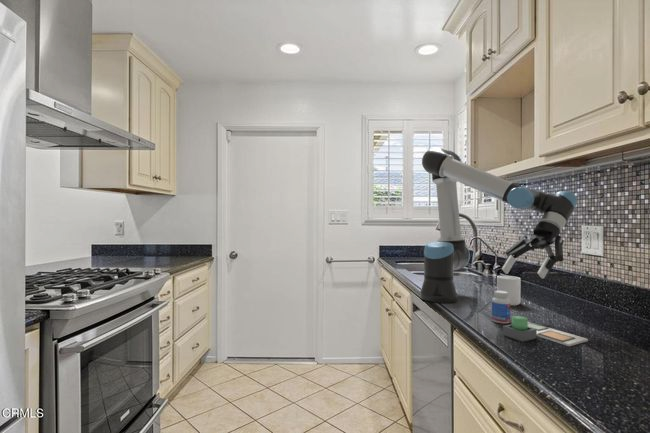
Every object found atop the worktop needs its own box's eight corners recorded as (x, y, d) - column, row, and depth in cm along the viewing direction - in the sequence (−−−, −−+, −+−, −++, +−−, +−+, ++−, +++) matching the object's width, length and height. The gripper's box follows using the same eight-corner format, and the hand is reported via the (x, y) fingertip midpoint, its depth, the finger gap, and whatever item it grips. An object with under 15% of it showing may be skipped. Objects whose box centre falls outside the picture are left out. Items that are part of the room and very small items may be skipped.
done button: (508, 329, 99) (508, 316, 99) (517, 327, 101) (517, 315, 101) (521, 333, 96) (521, 320, 96) (530, 331, 98) (530, 318, 98)
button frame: (503, 334, 100) (503, 326, 100) (516, 331, 103) (516, 323, 103) (522, 341, 95) (522, 332, 95) (536, 338, 97) (536, 329, 97)
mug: (497, 297, 146) (497, 273, 146) (519, 299, 142) (519, 275, 142) (496, 304, 135) (497, 278, 135) (521, 306, 131) (521, 279, 131)
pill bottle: (510, 324, 109) (510, 294, 109) (491, 322, 111) (492, 292, 111) (509, 320, 114) (509, 291, 114) (491, 318, 116) (491, 289, 116)
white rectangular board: (510, 327, 107) (510, 324, 107) (528, 323, 111) (528, 321, 111) (569, 346, 91) (569, 343, 91) (588, 341, 95) (588, 338, 95)
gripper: (592, 234, 112) (564, 285, 106) (523, 234, 135) (497, 276, 129) (580, 219, 110) (551, 270, 104) (512, 221, 133) (485, 263, 127)
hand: (521, 273), depth 116 cm, fingers open, 13 cm apart
